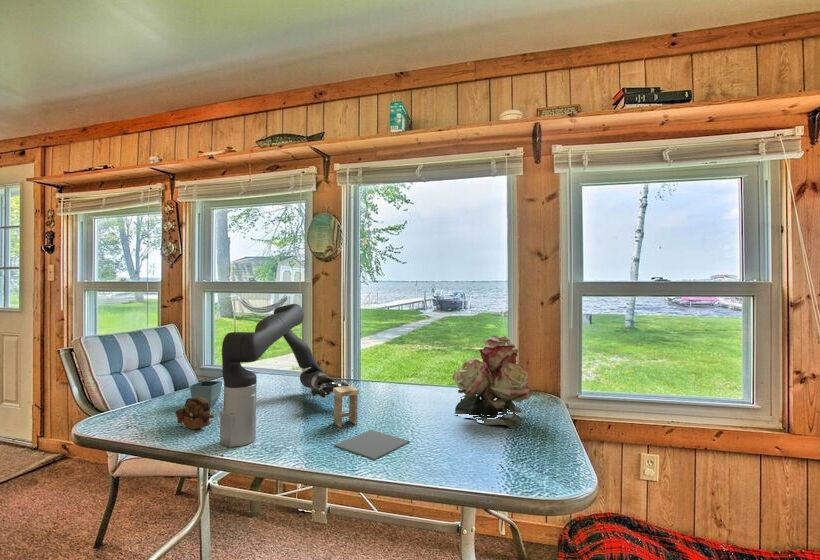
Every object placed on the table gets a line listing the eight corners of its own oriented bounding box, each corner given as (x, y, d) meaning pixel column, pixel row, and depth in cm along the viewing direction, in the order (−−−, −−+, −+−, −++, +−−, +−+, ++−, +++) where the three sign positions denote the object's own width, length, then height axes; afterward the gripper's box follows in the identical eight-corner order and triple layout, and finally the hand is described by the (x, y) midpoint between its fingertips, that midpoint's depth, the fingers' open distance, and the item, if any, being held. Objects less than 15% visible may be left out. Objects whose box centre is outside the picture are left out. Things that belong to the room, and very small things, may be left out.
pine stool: (339, 428, 130) (339, 392, 131) (332, 422, 137) (333, 387, 137) (358, 425, 134) (358, 390, 134) (350, 419, 140) (351, 385, 140)
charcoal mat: (374, 460, 106) (374, 458, 106) (334, 446, 115) (334, 444, 115) (409, 442, 118) (409, 440, 118) (370, 430, 128) (370, 429, 128)
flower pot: (211, 409, 151) (211, 386, 152) (188, 408, 151) (189, 385, 152) (222, 402, 160) (222, 380, 160) (201, 402, 160) (201, 380, 161)
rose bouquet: (444, 418, 142) (444, 335, 143) (486, 402, 163) (486, 330, 164) (508, 436, 124) (507, 342, 125) (546, 415, 146) (545, 335, 147)
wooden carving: (169, 427, 131) (170, 397, 131) (182, 423, 135) (182, 394, 135) (206, 433, 125) (207, 402, 125) (218, 429, 129) (218, 398, 130)
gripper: (305, 376, 156) (316, 385, 142) (339, 372, 163) (353, 381, 149) (305, 395, 156) (316, 406, 142) (339, 390, 163) (353, 400, 149)
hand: (335, 393), depth 145 cm, fingers open, 8 cm apart
